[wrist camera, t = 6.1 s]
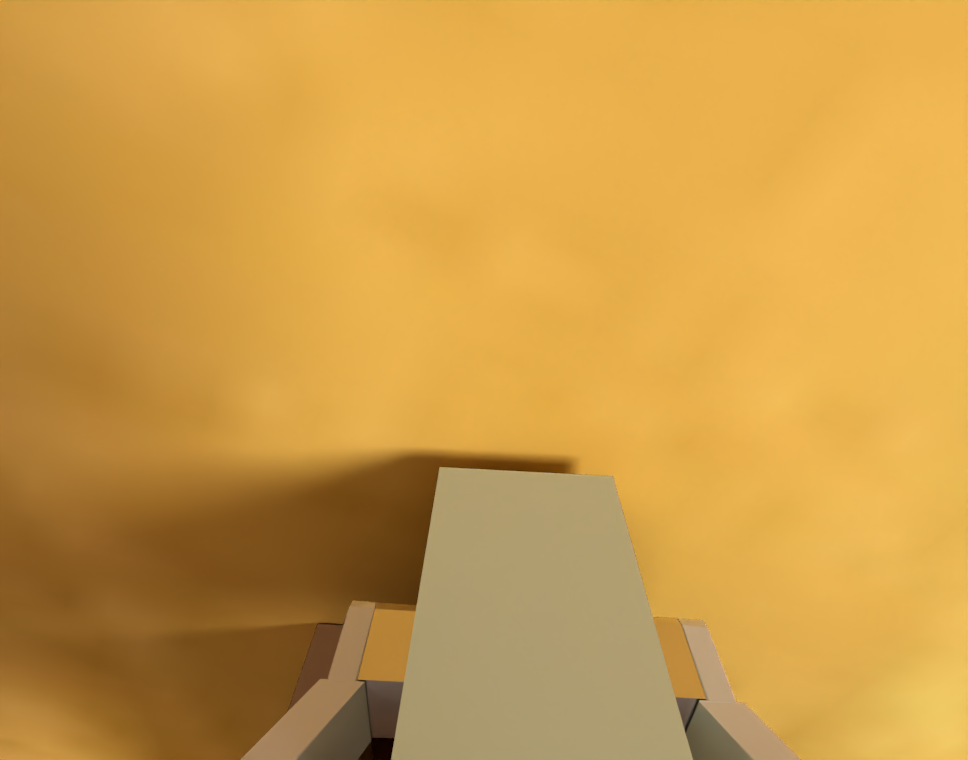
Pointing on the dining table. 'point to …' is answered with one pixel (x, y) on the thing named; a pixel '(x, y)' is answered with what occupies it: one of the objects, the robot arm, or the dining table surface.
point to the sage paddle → (534, 628)
